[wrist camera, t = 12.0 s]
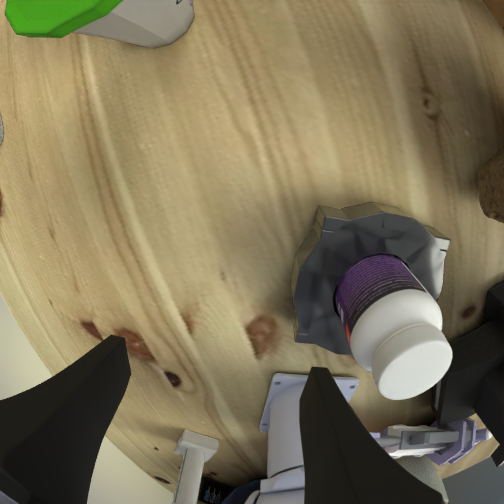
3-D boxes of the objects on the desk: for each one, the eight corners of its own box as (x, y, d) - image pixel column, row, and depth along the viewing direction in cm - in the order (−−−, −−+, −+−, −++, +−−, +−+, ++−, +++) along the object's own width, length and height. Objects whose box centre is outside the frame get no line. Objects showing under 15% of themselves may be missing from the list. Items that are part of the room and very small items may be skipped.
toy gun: (508, 407, 25) (468, 417, 31) (388, 398, 21) (337, 407, 28) (505, 452, 21) (464, 458, 27) (376, 476, 17) (325, 469, 23)
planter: (339, 477, 33) (345, 535, 23) (396, 439, 29) (413, 507, 19) (392, 478, 35) (402, 527, 25) (445, 442, 30) (463, 495, 20)
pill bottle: (313, 283, 20) (339, 390, 11) (365, 225, 19) (433, 306, 10) (363, 319, 21) (402, 418, 12) (412, 269, 20) (479, 354, 11)
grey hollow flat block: (400, 337, 22) (410, 356, 20) (279, 328, 22) (280, 350, 20) (445, 218, 18) (463, 230, 16) (307, 189, 18) (313, 199, 16)
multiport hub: (194, 476, 35) (204, 476, 34) (241, 496, 38) (251, 495, 37) (188, 499, 31) (197, 500, 30) (237, 516, 34) (247, 516, 33)
